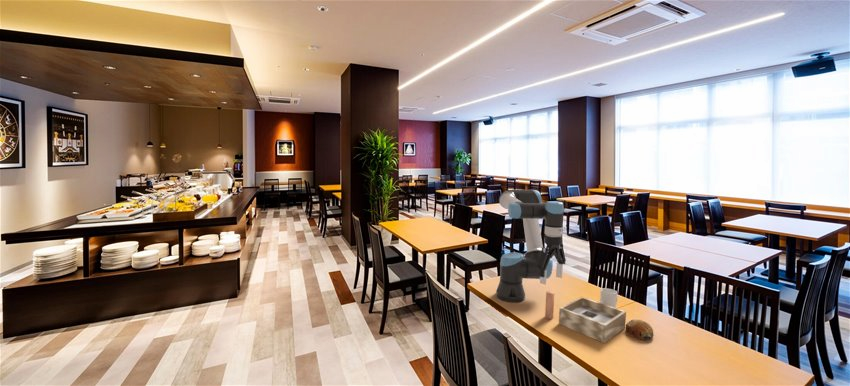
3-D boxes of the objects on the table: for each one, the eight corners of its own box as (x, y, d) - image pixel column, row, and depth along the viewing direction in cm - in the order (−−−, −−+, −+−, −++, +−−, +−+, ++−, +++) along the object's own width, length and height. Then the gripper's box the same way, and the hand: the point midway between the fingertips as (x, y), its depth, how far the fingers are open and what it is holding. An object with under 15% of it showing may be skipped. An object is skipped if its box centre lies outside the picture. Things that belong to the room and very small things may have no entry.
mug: (608, 319, 155) (610, 294, 154) (596, 313, 161) (597, 289, 160) (622, 315, 159) (624, 291, 158) (609, 309, 165) (611, 286, 164)
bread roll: (649, 341, 144) (648, 321, 146) (657, 342, 135) (656, 321, 137) (623, 336, 147) (623, 317, 150) (629, 338, 138) (629, 317, 140)
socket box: (558, 323, 151) (559, 307, 150) (580, 311, 163) (581, 296, 162) (604, 343, 135) (605, 325, 134) (625, 327, 148) (626, 311, 147)
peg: (543, 317, 157) (544, 292, 156) (547, 314, 159) (548, 290, 158) (550, 320, 154) (551, 295, 153) (554, 317, 156) (556, 293, 155)
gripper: (545, 240, 142) (543, 289, 144) (575, 233, 157) (572, 276, 159) (530, 237, 148) (528, 283, 150) (560, 230, 163) (558, 272, 165)
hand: (551, 280), depth 155 cm, fingers open, 13 cm apart
